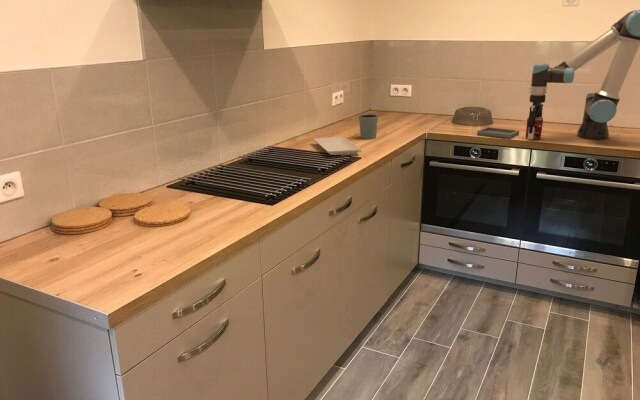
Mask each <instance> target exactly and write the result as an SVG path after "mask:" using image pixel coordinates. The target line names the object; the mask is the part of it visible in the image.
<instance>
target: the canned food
mask: <svg viewBox="0 0 640 400" xmlns="http://www.w3.org/2000/svg"><path fill="white" fill-rule="evenodd" d="M528 119H529V116H528V117H527V119H526V129H525V139H527V140H529V139H528V130H529V127H527V125H528ZM543 124H544V117H543V116H542V117H536V119H535V124H534V127H535V128H534V137H533V141H534V140H540V139H541V138H542V131H543ZM530 140H532V139H530Z"/></svg>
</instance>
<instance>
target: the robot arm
mask: <svg viewBox="0 0 640 400" xmlns="http://www.w3.org/2000/svg"><path fill="white" fill-rule="evenodd" d="M616 44H618V46H617V48H616V50H615V53H614V56H613V58H612V60H611V62H610V64H609V67H608V69H607V72H606V74H605V77H604V79H603V82H602V83H601V87H600V89H598V90H596V91H595V92H593V93H587V94H586V96H585V103H584V110H583V115H582V116H583V117H582V122H581V124H580V126H579V128H578V130H577V132H576V137H579V138H580V139H581V138H582V139H585V140H587V139H588V140H607V139H609V136H610V132H609V126H608V122H609V121H611V120H613V119H614V117H615V116H616V114H617V107H618V104H619V102H620V100H621V97H620V95H619V93H620V91H621V89H622V87H623V84H624V83H625V80H626V77H627V75H628V73H629V71H630V68H631V66H632V65H633V61H634V60H635V57H636V55H637V52H638V50H639V48H640V9H636V10H635V9H634V10H632V11H629V12H628V13H626V14H625V15H623V16H622V17H621V18H620V19H619V20H617V21H616V22H615V23H613V24H612V25H611V27H610V29H609V30H607V31H605V32H604V33H602V34H601V35H600V36H598V37H596V39H594V40H592V41H591V42H590V43H588V44H587V45H585V46H583V48H581V49H580V50H578V51H577V52H575V53H574V54H573V55H571V56H570V57H568V58H566V59H565V60H564V61H563V62H561V63H560V64H558V65H555V66H554V67H550V64H549V63H540V62H539V63H535V64H534V65H533V68H532V73H531V74H532V75H531V85H530V87H529V89H530V95H529V103H532V105H531V106H530V107H529V112H528V117H529V119H528V125H527V124H526V127H529V130H528V139H527V140H531V139H532V140H533V137H534V128H535V127H534V124H535V119H536V117H542V118H543V107H544V104H543V103H545V102H546V94H547V88H548V87H547V86H548V84H564V85H565V84H571V83H573V82H574V79H575V72H576V71H577V70H579V69H580V68H582V67H584V66H585V65H586V64H587V63H589V62H590V61H592V60H594V59H595V58H596V57H598V56H599V55H601V54H602V53H604V52H606V51H607V50H608V49H610V48H611V47H613V46H614V45H616ZM533 141H534V140H533Z"/></svg>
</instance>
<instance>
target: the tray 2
mask: <svg viewBox="0 0 640 400" xmlns="http://www.w3.org/2000/svg"><path fill="white" fill-rule="evenodd" d="M519 135H520V130H518V129H510V128H509V129H508V128H499V127H491V126H486V127H484V128H481V129H478V130H477V132H476V136H479V137H488V138H494V137H495V138H496V139H503V140H511V139H513V137H514V138H515V136H516V137H518V136H519ZM495 138H494V139H495Z"/></svg>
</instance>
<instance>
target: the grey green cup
mask: <svg viewBox="0 0 640 400" xmlns="http://www.w3.org/2000/svg"><path fill="white" fill-rule="evenodd" d="M358 118H359V119H358V121H359V133H360V134H359V135H360V139H363V140H374V139H376V138H377V130H378V119H379V116H378V114H373V113H365V114H361V115H358Z"/></svg>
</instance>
